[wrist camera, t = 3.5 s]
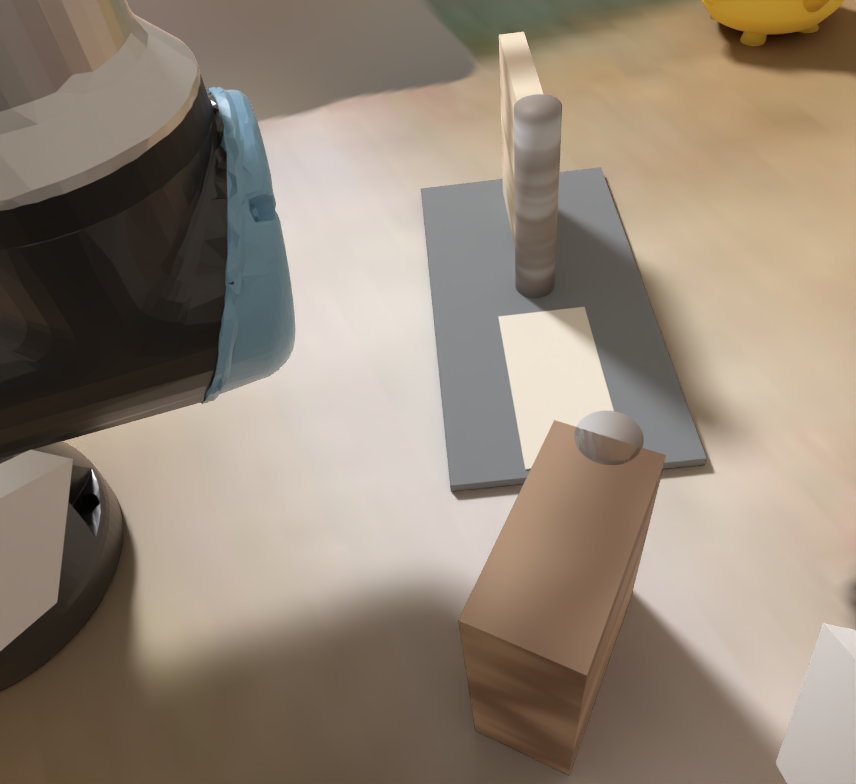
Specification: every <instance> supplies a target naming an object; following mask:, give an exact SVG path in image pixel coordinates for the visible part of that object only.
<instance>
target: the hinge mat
mask: <svg viewBox="0 0 856 784" xmlns="http://www.w3.org/2000/svg"><path fill="white" fill-rule="evenodd" d="M421 195H422V205H423V215H424V225H425V235H426V245H427V255H428V266H429V276H430V286H431V296H432V306H433V316H434V326H435V336H436V346H437V356H438V367H439V377H440V387H441V397H442V407H443V417H444V427H445V437H446V447H447V457H448V467H449V478H450V487H451V491H461V490H470V489H479V488H489V487H498V486H508V485H517V484H524V482H525V480H526V478H527V476H528V474H529V472H530V470H531V468H532V465H533V463H534V461H535V459H536V457H537V455H538V453H539V451H540V449H541V447H542V445H543V442H544V440H545V438H546V436H547V434H548V432H549V430H550V428H551V426H552V424H553V422H554V420H556V421H559V422H562V423H566V424H569V425H572V426H575V427H576V426H577V425H578V423H579V422H580V421H581V420H582V419H583V418H584V417H585V416H587V415H589V414H591V413H594V412H597V411H606V410H607V411H616V412H620V413H622V414H625V415H627V416H629V417H630V418H632V419H633V420H634V421H635V422H636V423H637V424H638V425H639V427H640V428H641V430H642V433H643V437H644V443H643V448H645V449H648V450H651V451H655V452H658V453H661V454H664V455H666V458H665V462H664V466H663V469H667V468H677V467H686V466H696V465H705V462H706V459H707V458H706V455H705V453H704V450H703V447H702V444H701V442H700V439H699V436H698V433H697V431H696V428H695V425H694V422H693V420H692V417H691V414H690V411H689V409H688V406H687V403H686V400H685V398H684V395H683V392H682V389H681V387H680V384H679V381H678V378H677V376H676V373H675V370H674V367H673V365H672V362H671V359H670V356H669V354H668V351H667V348H666V345H665V343H664V340H663V337H662V334H661V332H660V329H659V326H658V323H657V321H656V318H655V315H654V312H653V310H652V307H651V304H650V301H649V299H648V296H647V293H646V290H645V288H644V285H643V282H642V279H641V277H640V274H639V271H638V268H637V266H636V263H635V260H634V257H633V255H632V252H631V249H630V246H629V244H628V241H627V238H626V235H625V233H624V230H623V227H622V224H621V222H620V219H619V216H618V213H617V211H616V208H615V205H614V202H613V200H612V197H611V194H610V191H609V189H608V186H607V183H606V180H605V178H604V175H603V172H602V169H601V167H600V168H592V169H583V170H575V171H566V172H559V190H558V214H557V237H556V261H555V285H554V289H553V291H552V292H551V293H550V294H548V295H546V296H544V297H541V298H529V297H525V296H523V295H521V294H520V293H519V292H518V291H517V289H516V285H515V246H514V241H513V237H512V232H511V227H510V223H509V218H508V213H507V209H506V204H505V199H504V194H503V182H502V179H499V180H490V181H482V182H474V183H465V184H457V185H448V186H440V187H431V188H423V189H421Z"/></svg>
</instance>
